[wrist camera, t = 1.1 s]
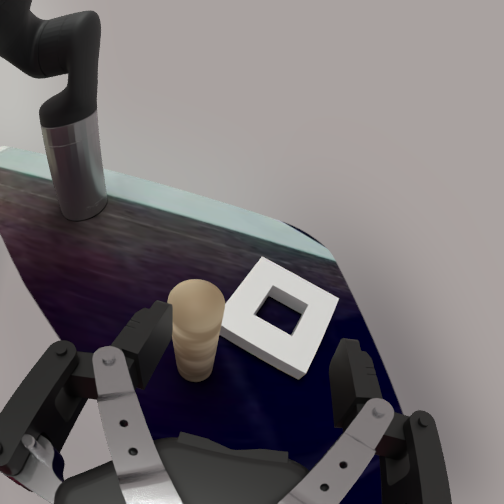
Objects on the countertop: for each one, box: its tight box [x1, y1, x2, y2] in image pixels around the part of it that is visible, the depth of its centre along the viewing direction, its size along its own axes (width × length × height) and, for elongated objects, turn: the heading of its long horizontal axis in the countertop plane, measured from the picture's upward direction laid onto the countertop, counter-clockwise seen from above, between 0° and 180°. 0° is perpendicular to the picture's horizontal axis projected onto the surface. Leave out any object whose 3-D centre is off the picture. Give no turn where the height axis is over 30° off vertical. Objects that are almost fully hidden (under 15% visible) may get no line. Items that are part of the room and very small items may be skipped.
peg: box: [168, 279, 225, 382], centre depth 24 cm, size 4×4×14 cm
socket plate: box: [219, 257, 339, 380], centre depth 34 cm, size 12×12×2 cm
